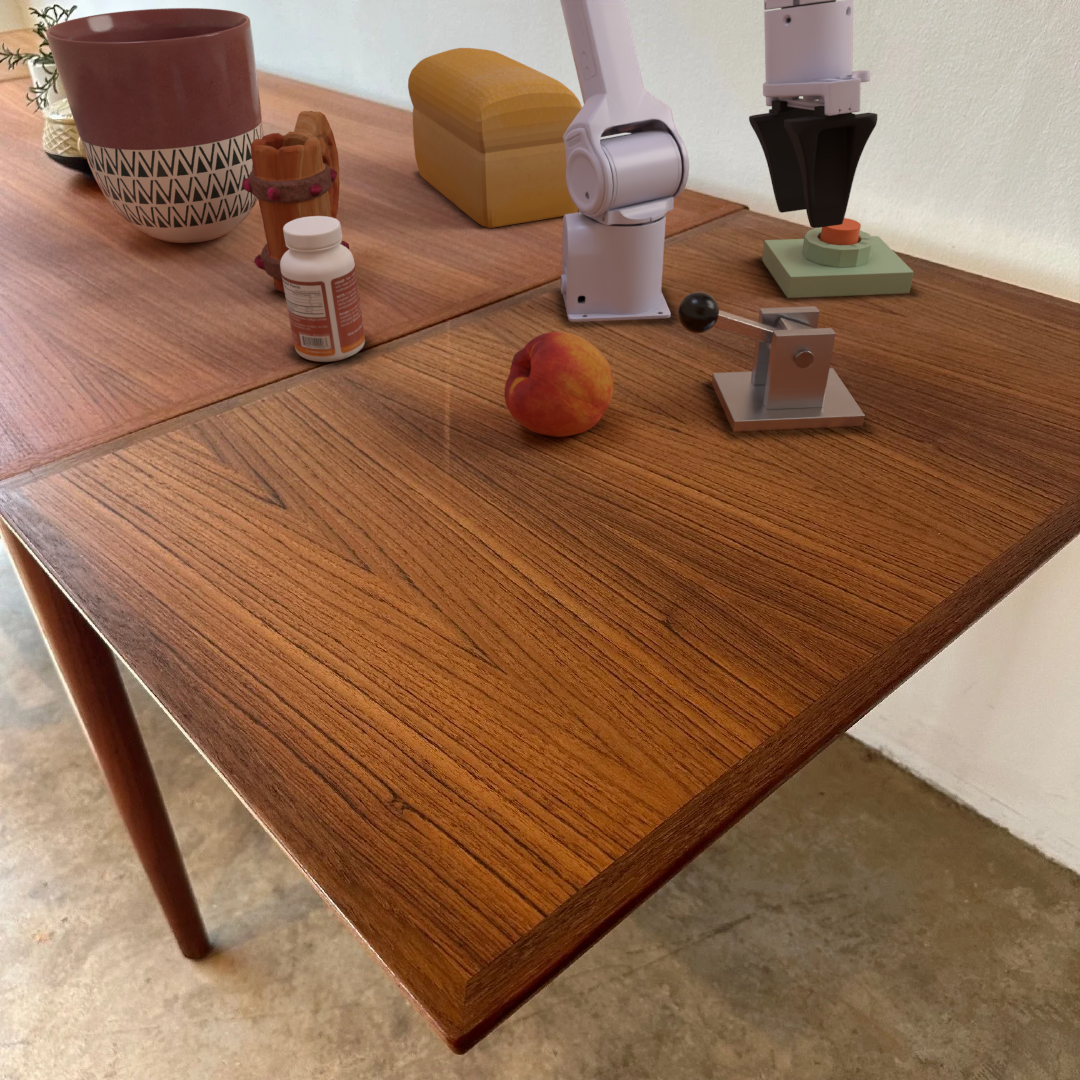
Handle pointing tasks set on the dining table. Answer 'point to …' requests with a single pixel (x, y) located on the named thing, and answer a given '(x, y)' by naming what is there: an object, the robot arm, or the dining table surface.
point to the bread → (492, 135)
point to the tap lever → (725, 319)
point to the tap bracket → (788, 380)
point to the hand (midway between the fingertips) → (809, 217)
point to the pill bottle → (321, 290)
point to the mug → (293, 183)
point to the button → (841, 233)
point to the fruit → (558, 385)
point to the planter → (165, 114)
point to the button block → (835, 267)
